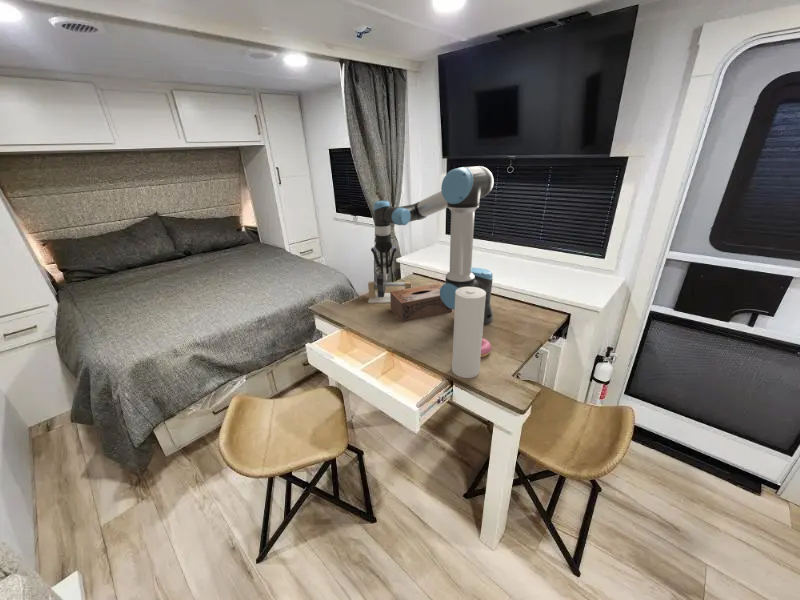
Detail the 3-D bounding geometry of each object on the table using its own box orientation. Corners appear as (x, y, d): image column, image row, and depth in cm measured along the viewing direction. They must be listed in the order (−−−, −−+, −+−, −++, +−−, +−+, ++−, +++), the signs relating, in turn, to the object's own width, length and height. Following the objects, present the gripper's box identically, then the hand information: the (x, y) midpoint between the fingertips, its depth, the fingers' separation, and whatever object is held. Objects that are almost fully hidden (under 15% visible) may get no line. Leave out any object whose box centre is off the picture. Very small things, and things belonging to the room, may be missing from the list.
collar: (383, 297, 168) (382, 278, 164) (377, 297, 168) (376, 278, 164) (385, 289, 177) (384, 272, 173) (379, 289, 177) (378, 272, 173)
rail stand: (411, 302, 168) (410, 286, 164) (368, 302, 169) (367, 286, 165) (411, 294, 178) (411, 278, 174) (370, 294, 179) (369, 278, 175)
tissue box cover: (402, 323, 149) (401, 303, 145) (390, 310, 161) (390, 291, 157) (451, 312, 157) (452, 293, 153) (437, 301, 169) (438, 283, 165)
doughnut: (496, 350, 126) (497, 341, 124) (481, 362, 119) (481, 353, 117) (472, 340, 133) (472, 331, 132) (456, 351, 126) (456, 342, 124)
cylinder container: (462, 381, 110) (468, 299, 97) (446, 366, 117) (449, 288, 105) (484, 372, 113) (492, 292, 101) (467, 359, 121) (472, 283, 109)
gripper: (396, 232, 163) (398, 276, 172) (370, 232, 163) (373, 277, 173) (396, 235, 156) (397, 282, 166) (368, 236, 157) (371, 282, 166)
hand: (385, 279), depth 169 cm, fingers closed
